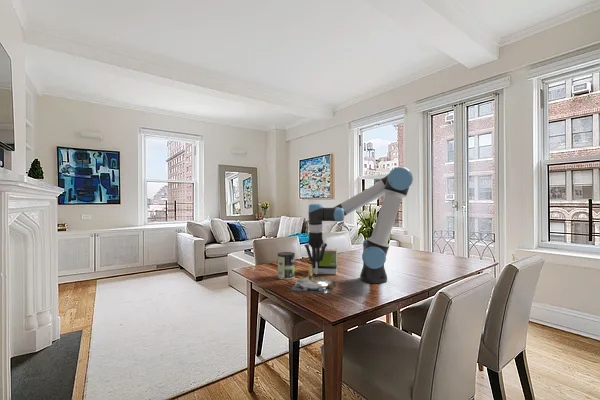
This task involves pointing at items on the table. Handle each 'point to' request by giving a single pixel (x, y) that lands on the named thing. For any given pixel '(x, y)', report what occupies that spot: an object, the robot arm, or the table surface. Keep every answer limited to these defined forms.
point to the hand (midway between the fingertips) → (316, 273)
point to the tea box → (328, 261)
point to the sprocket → (313, 282)
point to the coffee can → (286, 265)
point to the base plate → (325, 291)
